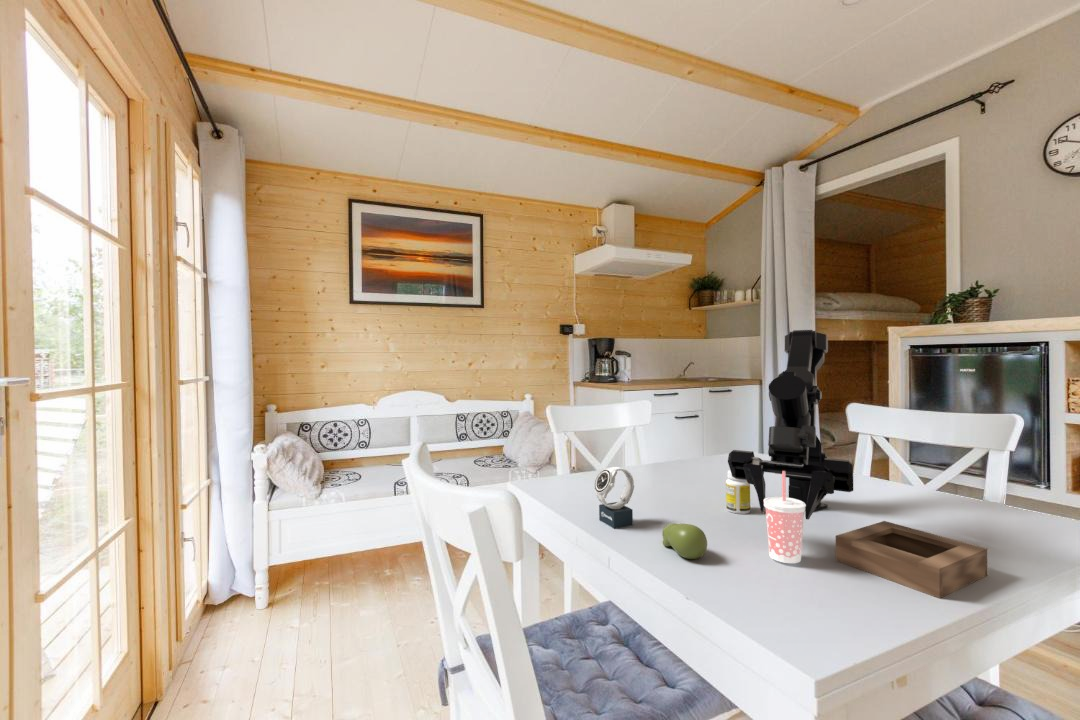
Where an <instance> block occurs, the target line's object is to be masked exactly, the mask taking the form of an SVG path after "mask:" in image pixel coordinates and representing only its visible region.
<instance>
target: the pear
mask: <svg viewBox="0 0 1080 720" xmlns="http://www.w3.org/2000/svg"><path fill="white" fill-rule="evenodd" d="M706 536H707V535H706V534H705V532H704V531H703V530H702V529H701V528H700V527H698V526H697V525H694V524H691V523H690V524H689V523H670V524H668V525H665V527H664V528H663V530H662V545H663V546H664V547H672V549H674V550H675V552H676V553H677V554H678V555H679V556H680V557H683V558H684V559H688V560H697V559H699V558H701V557H702V556H704V555H705V554H706V552H707V549H708V540H707V539H708V538H707V537H706Z"/></svg>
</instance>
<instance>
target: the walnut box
mask: <svg viewBox="0 0 1080 720" xmlns="http://www.w3.org/2000/svg"><path fill="white" fill-rule="evenodd" d="M835 561H837V562H839V563H842V564H845V565H848V566H850V567H852V566H853V568H855V569H859V570H861V571H863V570H864V572H866V571H867V573H869V572H870V574H871V575H874V574H875V576H877V575H878V576H877V577H880V578H883V579H886V580H889V581H891V582H894V583H897V584H900V585H902V586H904V587H908V588H910V589H913V590H916V591H918V592H921V593H923V594H926V595H930V596H931V597H932V596H933V597H934V598H938V599H941V598H944V597H946V596H947V595H950V594H952V593H954V592H956V591H957V590H958V591H959V590H960V589H962V588H965V587H966V586H968V585H970V584H973V583H974V582H977V581H978V580H981V579H983V578H985V577H987V576H988V548H986V547H982V546H980V545H975V544H971V543H967V542H964V541H960V540H957V539H954V538H953V539H952V538H949V537H945V536H942V535H939V534H934V533H931V532H927V531H923V530H920V529H916V528H911V527H909V526H905V525H901V524H897V523H894V522H889V521H886V520H882V521H879V522H875V523H872V524H870V525H866V526H864V527H859V528H855V529H853V530H850V531H846V532H844V533H840V534H836V535H835Z"/></svg>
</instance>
